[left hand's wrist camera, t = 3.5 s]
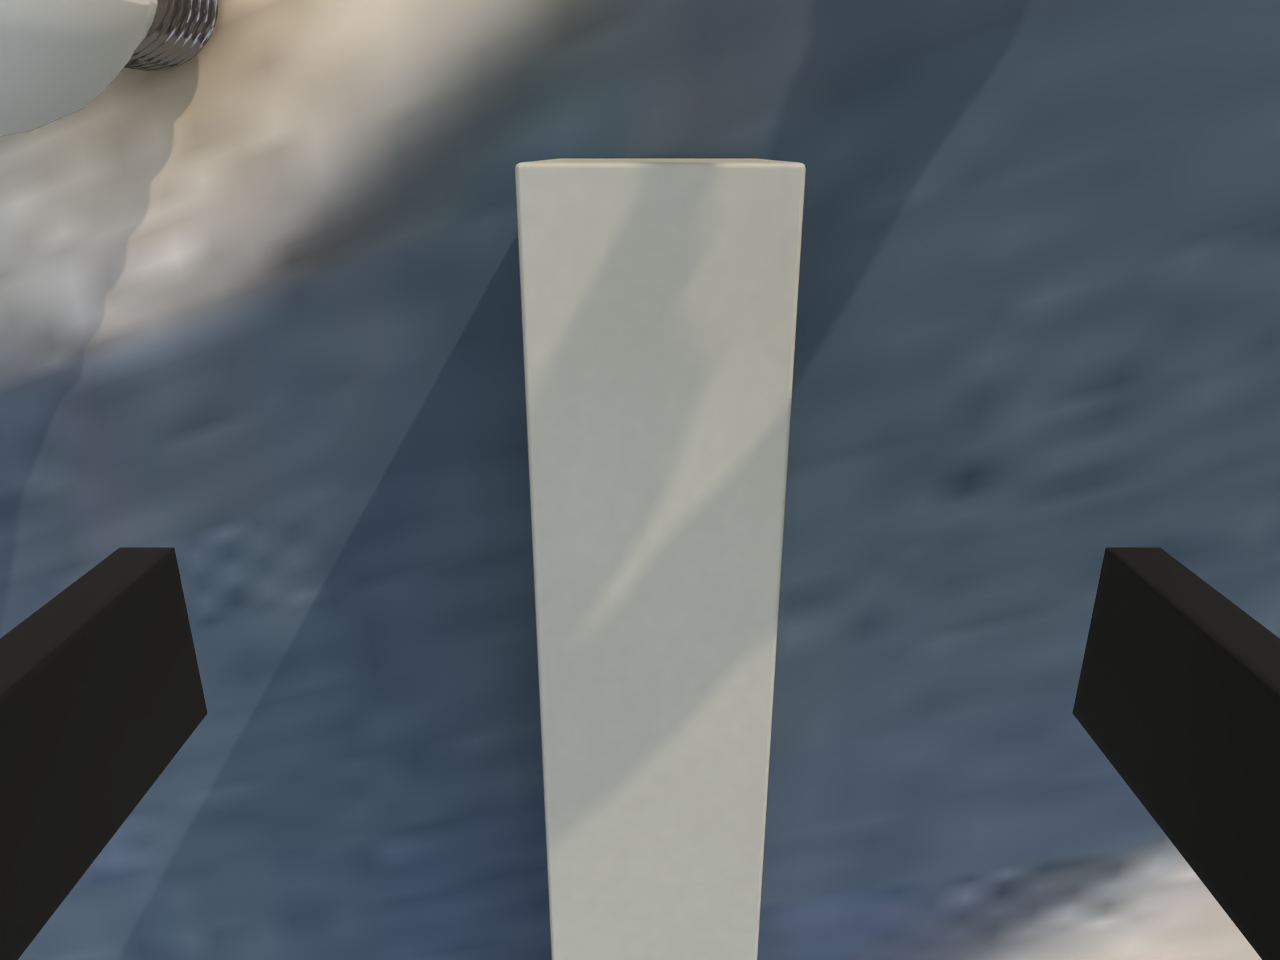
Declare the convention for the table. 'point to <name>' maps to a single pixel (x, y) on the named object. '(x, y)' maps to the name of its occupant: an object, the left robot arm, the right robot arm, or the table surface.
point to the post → (657, 536)
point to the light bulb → (87, 50)
